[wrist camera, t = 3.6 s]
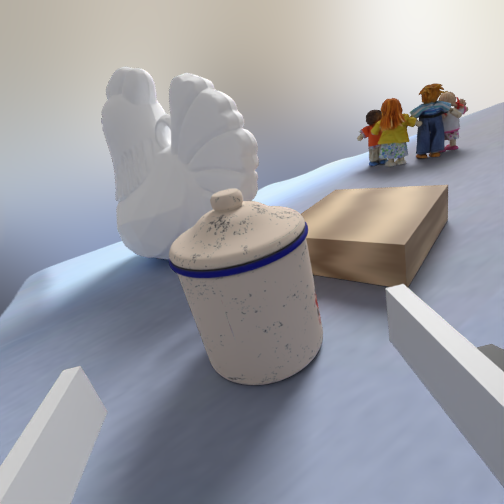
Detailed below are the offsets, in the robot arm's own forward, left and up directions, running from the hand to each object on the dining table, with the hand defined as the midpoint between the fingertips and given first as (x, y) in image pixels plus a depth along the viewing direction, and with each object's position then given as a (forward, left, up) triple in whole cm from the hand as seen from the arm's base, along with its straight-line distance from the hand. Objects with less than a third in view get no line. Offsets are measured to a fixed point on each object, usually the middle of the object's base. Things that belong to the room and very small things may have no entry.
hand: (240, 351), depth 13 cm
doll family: (+10, -64, -7) cm, 65 cm away
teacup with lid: (+7, -7, -7) cm, 12 cm away
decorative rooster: (+26, -18, -7) cm, 32 cm away
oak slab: (+5, -24, -6) cm, 25 cm away
